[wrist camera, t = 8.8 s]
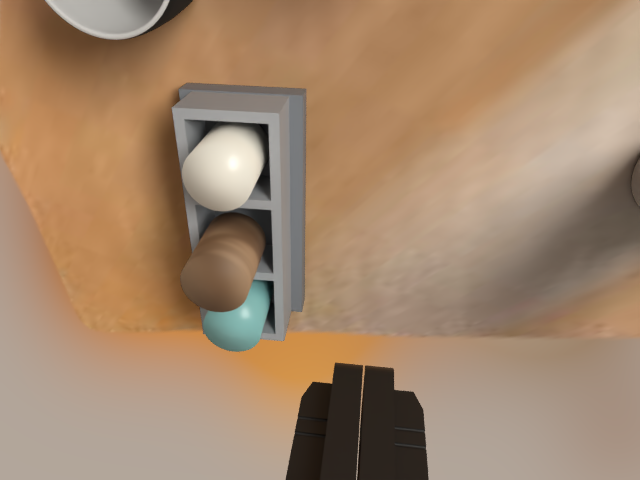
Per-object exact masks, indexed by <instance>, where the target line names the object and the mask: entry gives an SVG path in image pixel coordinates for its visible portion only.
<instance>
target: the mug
mask: <svg viewBox="0 0 640 480" xmlns="http://www.w3.org/2000/svg"><path fill="white" fill-rule="evenodd" d="M45 1H46V3H47V4H48V5H49V6H50V7H51V8H52V9H53V10H54V11H55V12H56V13H57V14H58V15H59V16H60V17H61V18H62V19H64V20H65V21H66V22H67V23H69V24H70V25H72V26H73V27H75V28H77V29H78V30H80V31H82V32H84V33H87V34H89V35H92V36H95V37H98V38H102V39H109V40H123V39H130V38H134V37H137V36H140V35H143V34H145V33H148V32H150V31H152V30H154V29H156V28H158V27H160V26H161V25H163V24H164V23H166V22H168V21H169V20H171V19H172V18H174V17H175V16H176V15H178V14H179V13H180V12H181V11H183V10H184V9H185V8H186V7H187V6H188V5H189V4H190V3H191V2H192V1H193V0H45Z"/></svg>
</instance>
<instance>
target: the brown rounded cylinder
mask: <svg viewBox="0 0 640 480" xmlns="http://www.w3.org/2000/svg"><path fill="white" fill-rule="evenodd" d="M265 246H266V237H265V233H264V231H263V229H262V228H261V226H260V225H259V224H258V223H257V222H256V221H255V220H254V219H252V218H251V217H249V216H247V215H244V214H241V213H236V212H228V213H223V214H220V215H218V216H217V217H215V218H214V219H213V220H212V221H211V223H210V224H209V226H208V228H207V229H206V231H205V233H204V234H203V236H202V238H201V239H200V241H199V243H198V244H197V246H196V248H195V249H194V251H193V253H192V255H191V256H190V258H189V260H188V261H187V263H186V265H185V266H184V268H183V270H182V272H181V276H180V282H181V287H182V289H183V291H184V293H185V294H186V296H187V297H188V298H189V299H190V300H191V301H192V302H193V303H195V304H196V305H197V306H199V307H201V308H203V309H206V310H209V311H213V312H228V311H232V310H235V309H237V308H238V307H240V306H241V305H242V304H243V303H244V302H245V300H246V298H247V296H248V293H249V290H250V288H251V285H252V282H253V279H254V277H255V274H256V271H257V268H258V266H259V263H260V260H261V258H262V255H263V252H264V249H265Z"/></svg>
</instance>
